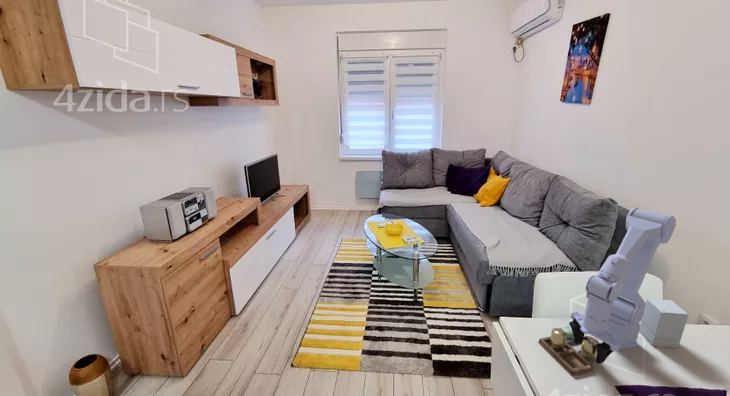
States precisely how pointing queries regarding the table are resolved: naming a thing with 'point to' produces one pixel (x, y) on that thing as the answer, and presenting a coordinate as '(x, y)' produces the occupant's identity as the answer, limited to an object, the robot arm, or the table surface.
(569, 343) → the button housing
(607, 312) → the robot arm
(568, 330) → the button
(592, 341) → the cylinder
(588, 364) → the brown wooden tray
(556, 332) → the brass round-topped piece
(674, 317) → the supplement box
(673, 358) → the table surface
